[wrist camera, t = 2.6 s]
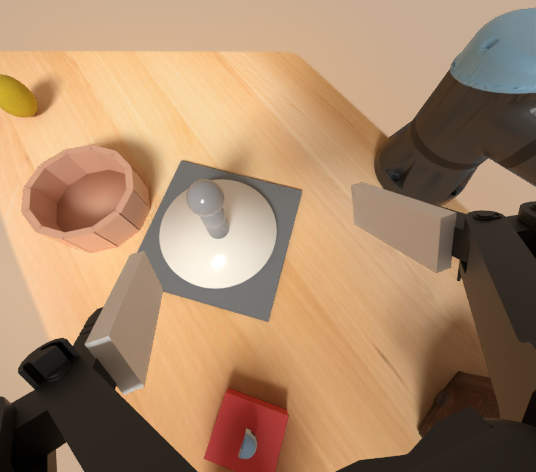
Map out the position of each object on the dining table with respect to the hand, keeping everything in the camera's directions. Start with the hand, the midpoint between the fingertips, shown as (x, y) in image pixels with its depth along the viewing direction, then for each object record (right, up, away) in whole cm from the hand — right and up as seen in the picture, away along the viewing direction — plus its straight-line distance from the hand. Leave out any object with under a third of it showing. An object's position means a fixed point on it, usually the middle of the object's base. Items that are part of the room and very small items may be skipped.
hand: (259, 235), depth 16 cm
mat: (-7, 0, +25) cm, 26 cm away
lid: (-7, +1, +25) cm, 26 cm away
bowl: (-27, +5, +26) cm, 38 cm away
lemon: (-44, +23, +33) cm, 60 cm away
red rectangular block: (-2, -24, +17) cm, 30 cm away
